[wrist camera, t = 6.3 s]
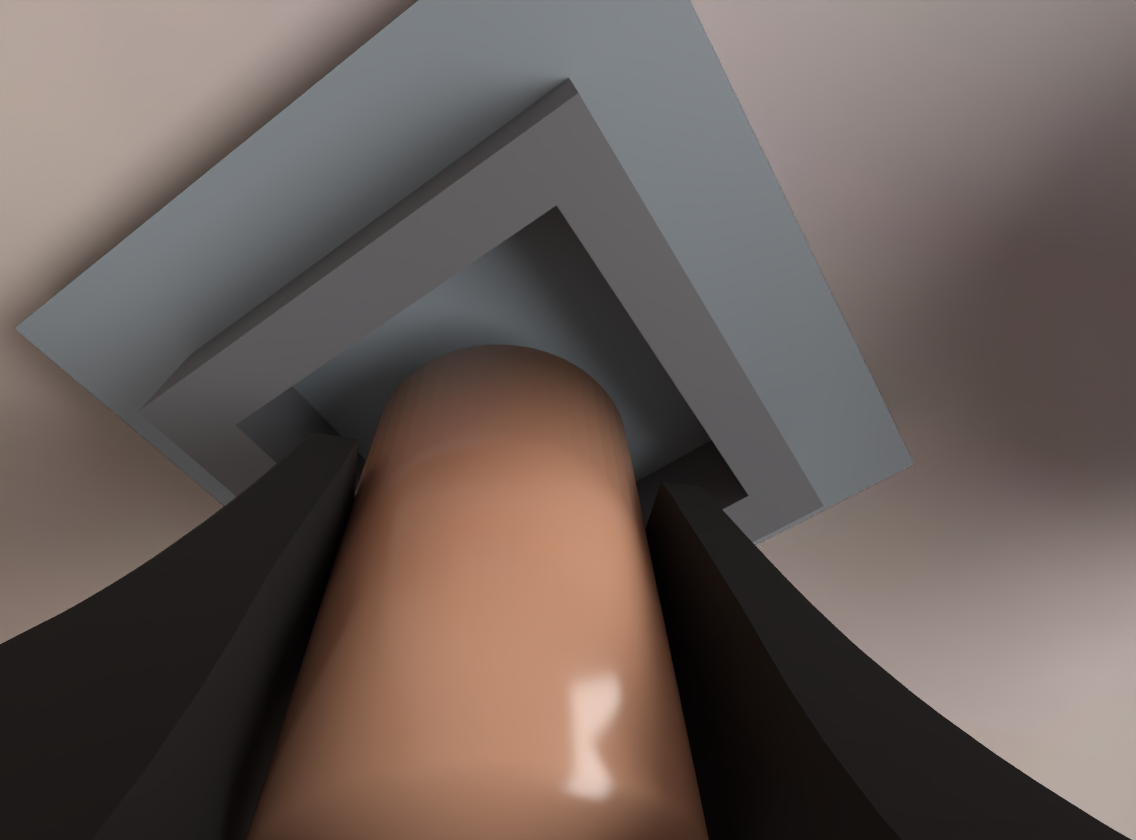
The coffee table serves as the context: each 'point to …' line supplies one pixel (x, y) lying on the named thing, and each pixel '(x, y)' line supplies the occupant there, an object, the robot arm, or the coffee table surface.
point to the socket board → (493, 263)
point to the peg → (488, 629)
